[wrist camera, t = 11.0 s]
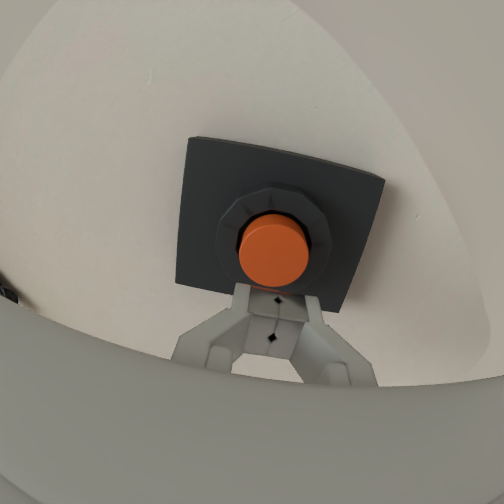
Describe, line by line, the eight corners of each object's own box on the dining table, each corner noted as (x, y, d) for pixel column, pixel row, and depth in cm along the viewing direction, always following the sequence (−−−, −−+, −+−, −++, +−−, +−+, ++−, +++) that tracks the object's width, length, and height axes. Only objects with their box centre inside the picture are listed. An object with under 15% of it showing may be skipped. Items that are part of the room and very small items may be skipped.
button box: (373, 173, 17) (397, 186, 13) (333, 296, 21) (343, 329, 18) (197, 136, 17) (178, 139, 13) (183, 268, 21) (167, 297, 18)
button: (312, 220, 15) (317, 232, 14) (296, 276, 17) (298, 292, 15) (248, 208, 15) (245, 217, 13) (237, 265, 17) (234, 280, 15)
